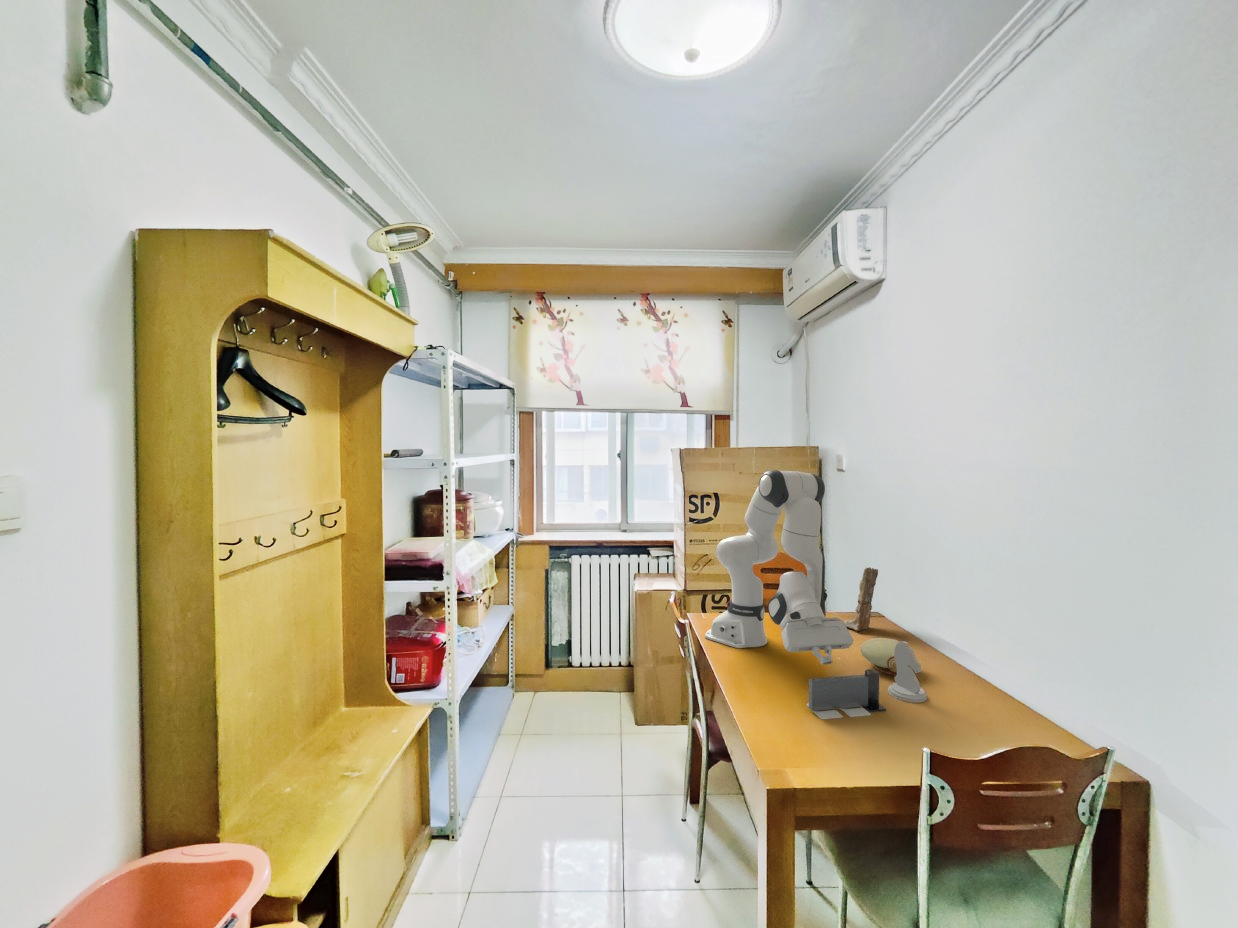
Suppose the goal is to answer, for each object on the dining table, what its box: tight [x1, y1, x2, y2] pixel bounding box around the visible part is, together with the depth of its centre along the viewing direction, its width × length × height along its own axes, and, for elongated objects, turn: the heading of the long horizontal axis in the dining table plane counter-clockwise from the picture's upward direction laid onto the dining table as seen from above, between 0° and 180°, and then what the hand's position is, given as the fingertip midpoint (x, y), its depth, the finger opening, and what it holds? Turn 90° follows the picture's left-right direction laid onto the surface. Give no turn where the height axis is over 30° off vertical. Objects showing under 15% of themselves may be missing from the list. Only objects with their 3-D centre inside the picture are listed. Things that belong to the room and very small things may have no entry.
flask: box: [859, 637, 901, 677], centre depth 170 cm, size 9×16×18 cm
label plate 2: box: [840, 707, 871, 718], centre depth 146 cm, size 6×8×1 cm
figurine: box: [843, 567, 879, 632], centre depth 212 cm, size 12×10×25 cm
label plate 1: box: [805, 702, 844, 720], centre depth 144 cm, size 6×8×1 cm
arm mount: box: [863, 703, 887, 713], centre depth 147 cm, size 5×5×1 cm
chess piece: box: [887, 640, 928, 703], centre depth 154 cm, size 10×10×15 cm
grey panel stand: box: [808, 669, 880, 712], centre depth 145 cm, size 20×4×9 cm, turn 99°
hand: (827, 663), depth 151 cm, fingers closed
